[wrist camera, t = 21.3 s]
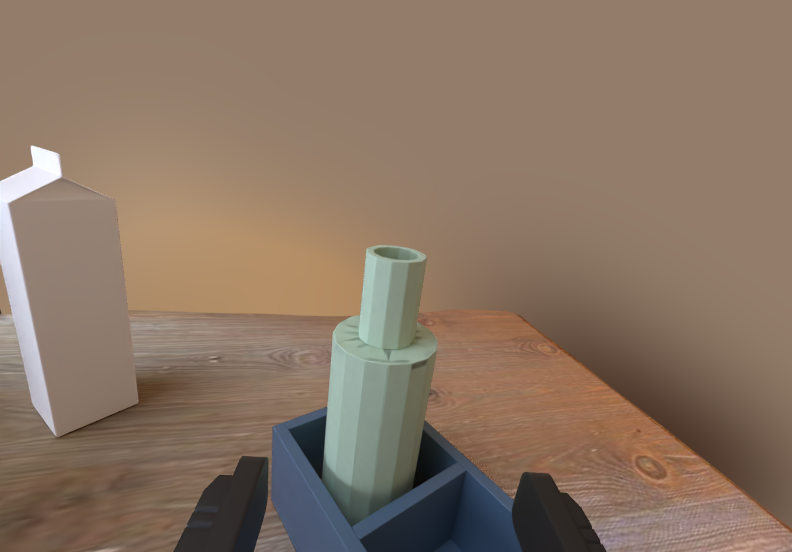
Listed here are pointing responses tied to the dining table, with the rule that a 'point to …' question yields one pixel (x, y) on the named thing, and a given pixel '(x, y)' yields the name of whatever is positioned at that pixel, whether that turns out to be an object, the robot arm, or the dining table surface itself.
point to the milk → (66, 294)
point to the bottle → (379, 387)
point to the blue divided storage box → (401, 519)
